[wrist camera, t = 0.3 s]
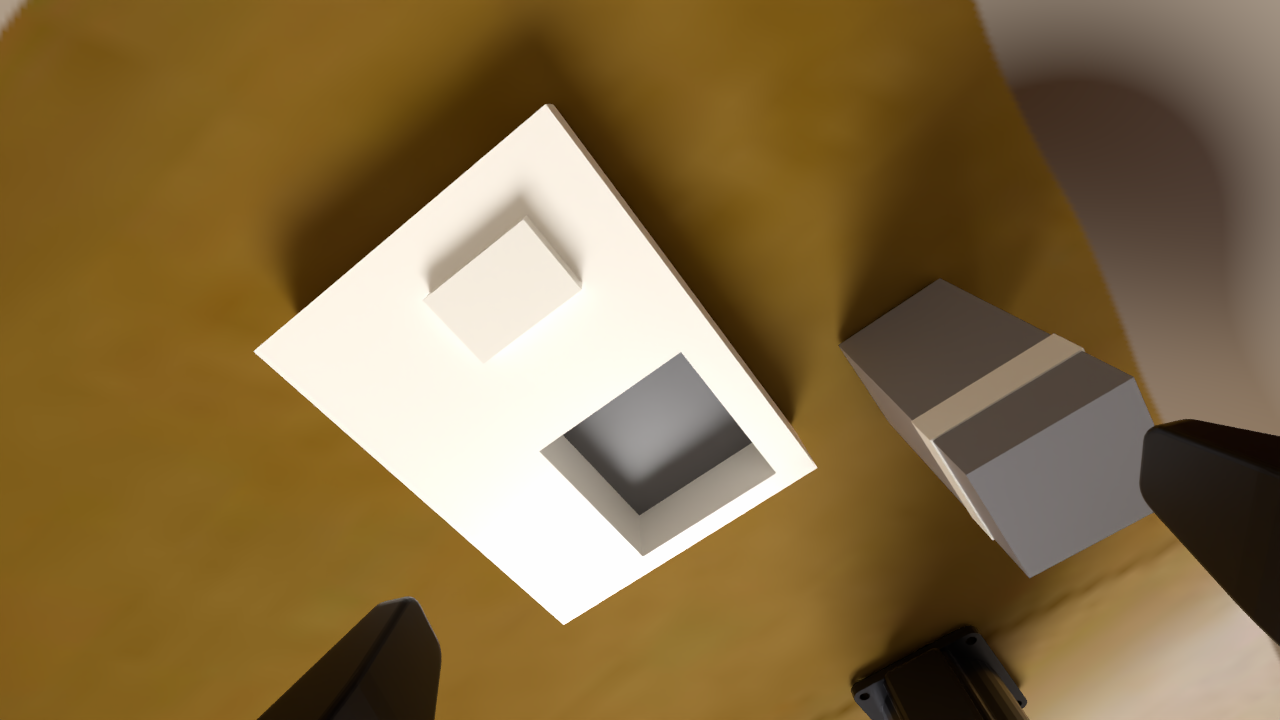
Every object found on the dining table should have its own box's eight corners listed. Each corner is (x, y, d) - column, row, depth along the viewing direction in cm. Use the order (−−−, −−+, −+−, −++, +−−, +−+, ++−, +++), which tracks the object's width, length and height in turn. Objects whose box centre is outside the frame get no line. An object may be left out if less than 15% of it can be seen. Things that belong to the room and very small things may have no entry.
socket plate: (795, 430, 22) (824, 479, 19) (567, 575, 24) (562, 640, 21) (553, 104, 17) (543, 103, 14) (294, 322, 19) (239, 361, 16)
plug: (987, 363, 21) (1187, 496, 14) (888, 424, 22) (1028, 580, 15) (940, 276, 20) (1135, 374, 13) (836, 345, 21) (963, 474, 14)
